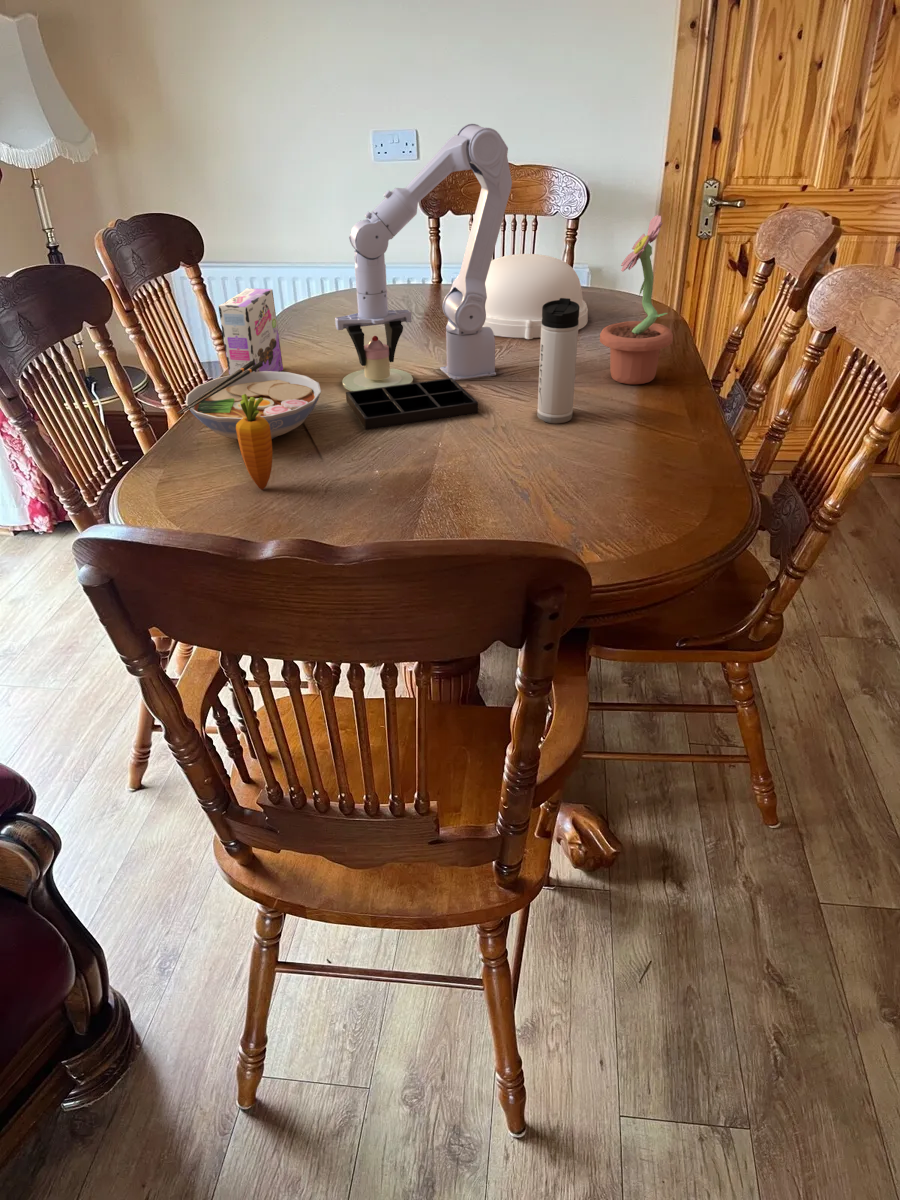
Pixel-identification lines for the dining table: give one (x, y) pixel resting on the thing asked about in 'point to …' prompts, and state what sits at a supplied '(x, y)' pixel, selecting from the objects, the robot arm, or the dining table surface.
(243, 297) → the candy box
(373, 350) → the cupcake
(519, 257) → the dome cover
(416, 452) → the dining table surface
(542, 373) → the travel mug
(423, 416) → the black compartment tray
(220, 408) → the ramen bowl
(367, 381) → the plate
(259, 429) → the carrot
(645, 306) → the decorative flower
